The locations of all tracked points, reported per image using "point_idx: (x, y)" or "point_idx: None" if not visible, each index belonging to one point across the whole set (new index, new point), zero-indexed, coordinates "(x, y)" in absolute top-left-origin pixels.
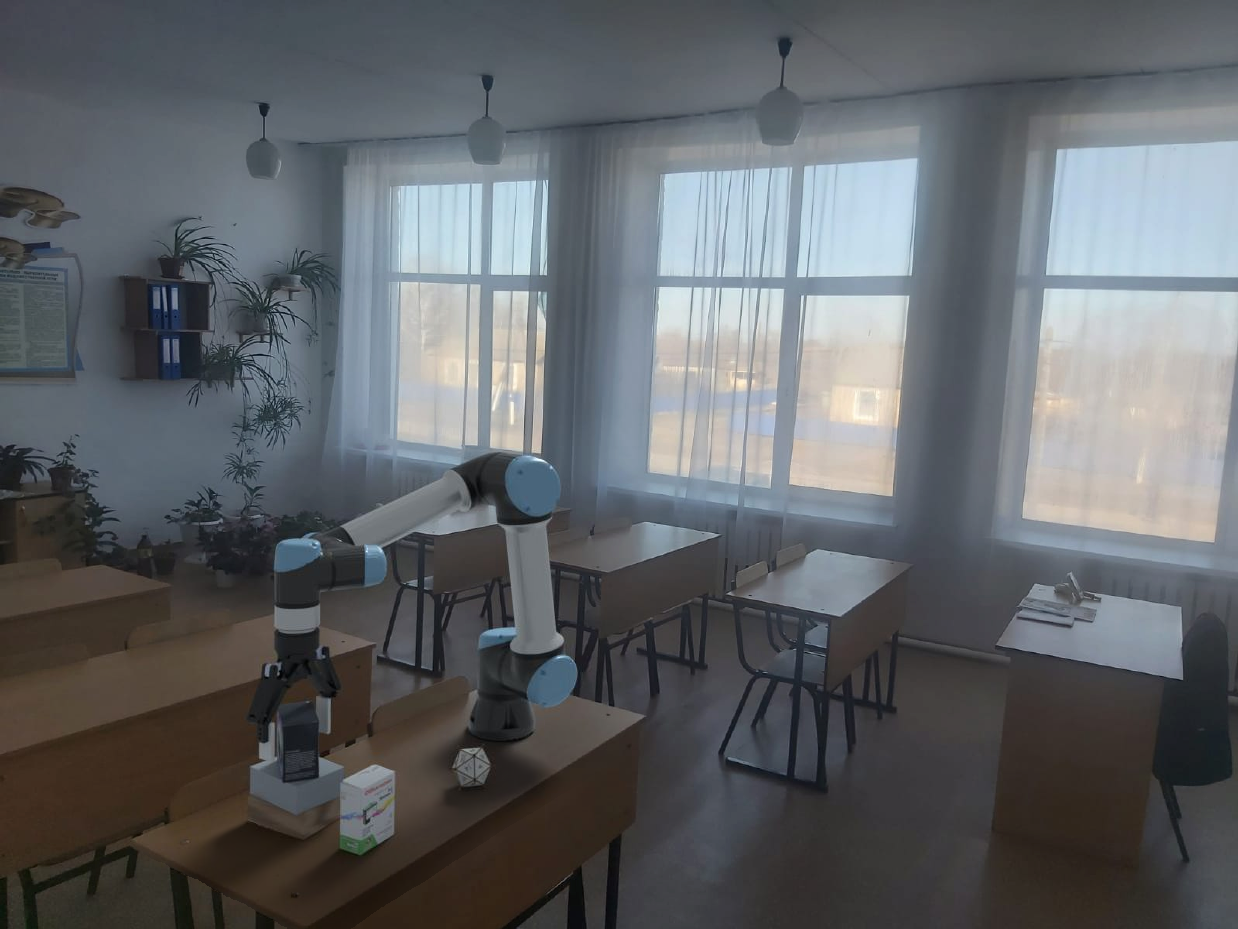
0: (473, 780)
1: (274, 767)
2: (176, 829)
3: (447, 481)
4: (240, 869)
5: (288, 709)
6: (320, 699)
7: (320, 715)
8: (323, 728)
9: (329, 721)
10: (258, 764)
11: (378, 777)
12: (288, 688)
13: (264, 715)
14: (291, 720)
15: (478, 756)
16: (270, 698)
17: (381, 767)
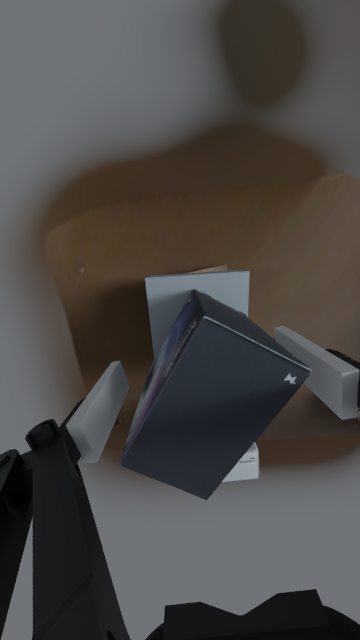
0: (358, 419)
1: (172, 312)
2: (81, 231)
3: None
4: (100, 360)
5: (200, 388)
6: (337, 386)
7: (299, 358)
8: None
9: None
10: (159, 281)
11: (230, 478)
12: (126, 629)
13: (31, 514)
14: (153, 459)
15: None
16: (7, 610)
17: (254, 464)
